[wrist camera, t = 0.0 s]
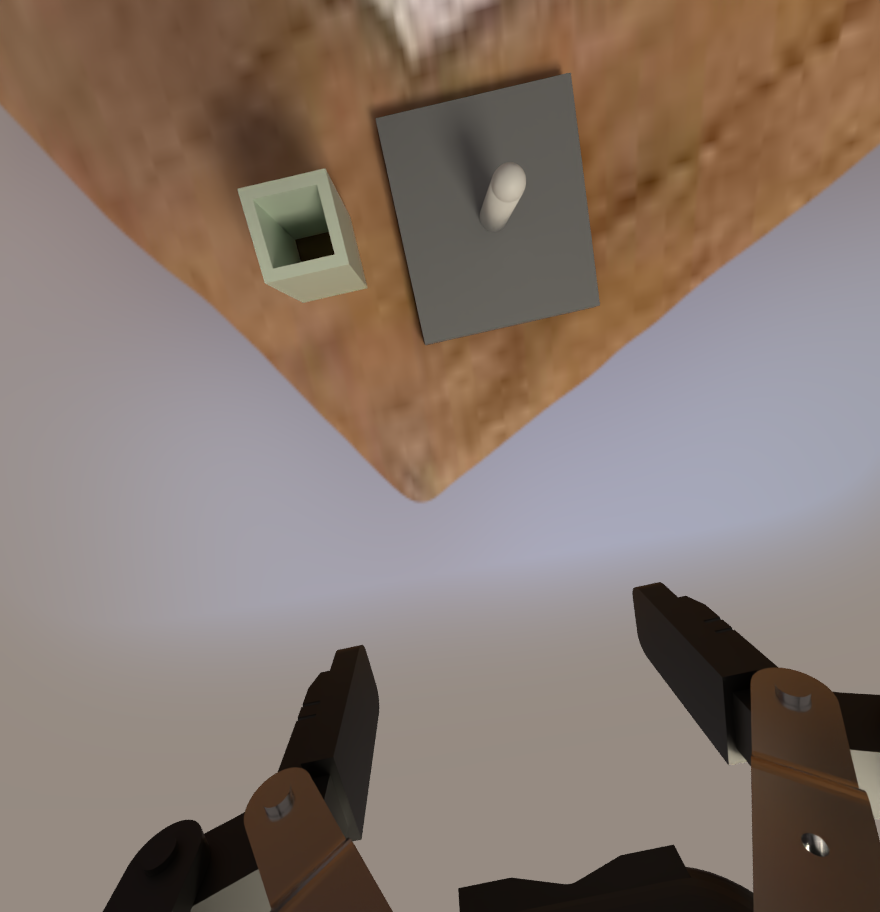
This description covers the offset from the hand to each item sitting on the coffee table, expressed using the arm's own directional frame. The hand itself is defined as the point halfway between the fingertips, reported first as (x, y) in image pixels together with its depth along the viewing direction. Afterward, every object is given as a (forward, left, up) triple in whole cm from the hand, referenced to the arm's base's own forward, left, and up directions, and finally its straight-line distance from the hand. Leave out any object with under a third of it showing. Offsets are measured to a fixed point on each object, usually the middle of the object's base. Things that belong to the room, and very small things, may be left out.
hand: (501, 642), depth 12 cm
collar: (-19, -7, -29) cm, 36 cm away
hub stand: (-19, +8, -29) cm, 36 cm away
